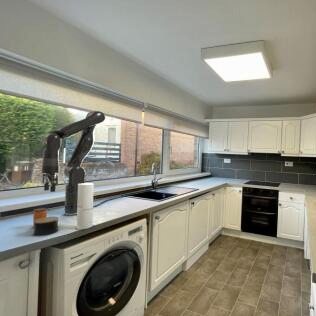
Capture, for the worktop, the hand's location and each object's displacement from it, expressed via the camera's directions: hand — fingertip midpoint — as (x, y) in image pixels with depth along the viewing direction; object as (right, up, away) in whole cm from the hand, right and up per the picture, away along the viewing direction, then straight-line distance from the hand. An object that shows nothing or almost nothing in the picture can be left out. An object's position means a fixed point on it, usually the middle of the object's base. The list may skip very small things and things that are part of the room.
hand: (49, 191), depth 122 cm
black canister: (+16, -19, -19) cm, 31 cm away
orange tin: (+6, -18, -12) cm, 23 cm away
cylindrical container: (+29, -20, -9) cm, 36 cm away
